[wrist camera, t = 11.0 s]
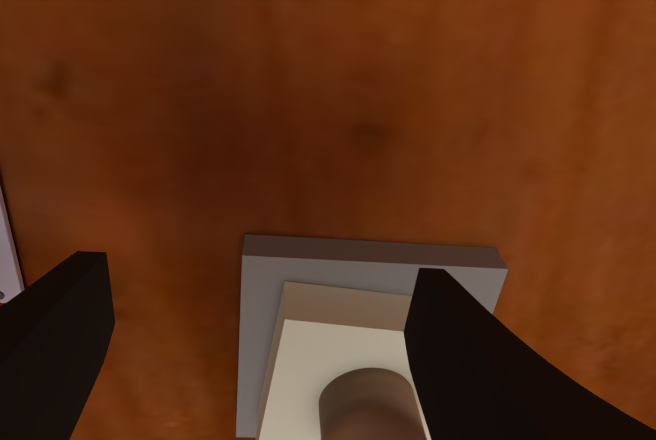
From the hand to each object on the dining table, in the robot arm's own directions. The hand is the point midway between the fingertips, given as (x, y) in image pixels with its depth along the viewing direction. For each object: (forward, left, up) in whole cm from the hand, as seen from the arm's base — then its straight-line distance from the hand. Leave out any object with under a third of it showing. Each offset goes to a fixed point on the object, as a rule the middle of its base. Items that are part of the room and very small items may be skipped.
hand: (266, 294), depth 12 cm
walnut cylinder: (+5, -11, -6) cm, 14 cm away
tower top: (+5, -11, -9) cm, 15 cm away
